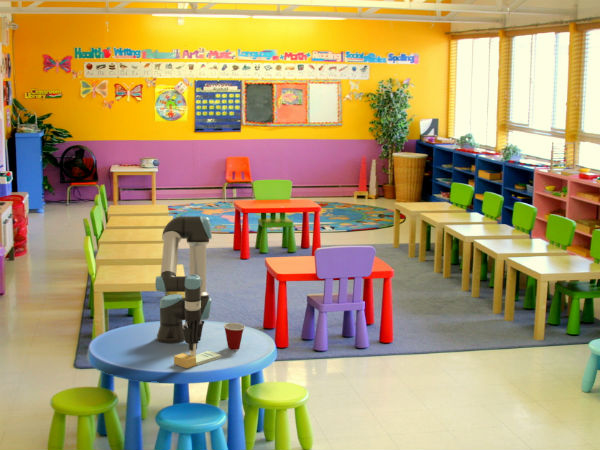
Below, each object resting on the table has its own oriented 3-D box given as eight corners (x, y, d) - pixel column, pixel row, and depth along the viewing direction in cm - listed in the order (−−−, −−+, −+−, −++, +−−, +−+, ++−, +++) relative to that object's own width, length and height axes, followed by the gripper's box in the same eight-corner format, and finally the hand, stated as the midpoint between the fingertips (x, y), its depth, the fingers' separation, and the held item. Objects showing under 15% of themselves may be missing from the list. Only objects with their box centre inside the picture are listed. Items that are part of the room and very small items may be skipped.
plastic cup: (241, 352, 407) (241, 329, 405) (221, 350, 409) (221, 327, 407) (247, 345, 417) (247, 323, 415) (227, 344, 420) (227, 321, 417)
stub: (174, 363, 388) (173, 355, 387) (183, 360, 392) (183, 352, 392) (186, 368, 382) (186, 359, 381) (196, 365, 386) (196, 356, 386)
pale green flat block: (184, 361, 392) (184, 358, 392) (208, 353, 404) (208, 350, 404) (196, 365, 387) (196, 362, 386) (221, 357, 398) (221, 354, 398)
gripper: (187, 313, 379) (188, 361, 383) (208, 307, 389) (208, 354, 393) (177, 310, 384) (177, 357, 388) (197, 304, 394) (198, 351, 398)
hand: (193, 356), depth 390 cm, fingers closed
